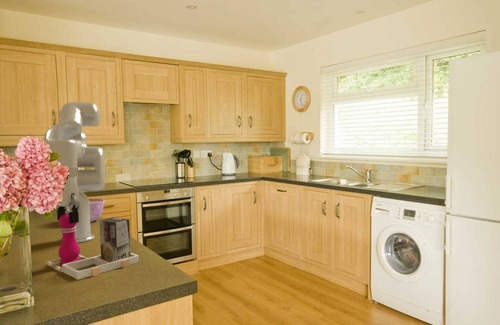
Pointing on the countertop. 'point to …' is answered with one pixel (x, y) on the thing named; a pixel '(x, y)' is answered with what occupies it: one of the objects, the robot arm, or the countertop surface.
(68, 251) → the pepper mill
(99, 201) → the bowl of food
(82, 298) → the countertop surface
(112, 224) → the coffee box
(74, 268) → the frame
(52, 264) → the tray frame
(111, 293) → the countertop surface
